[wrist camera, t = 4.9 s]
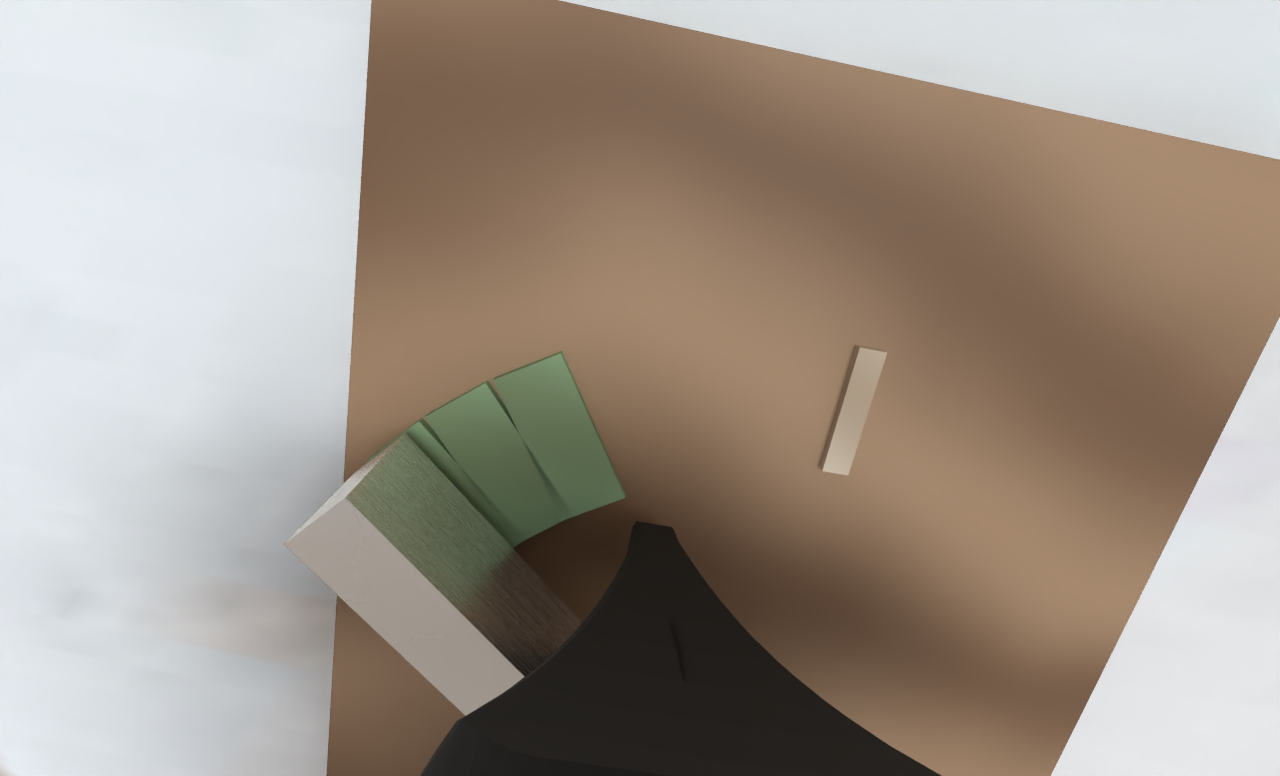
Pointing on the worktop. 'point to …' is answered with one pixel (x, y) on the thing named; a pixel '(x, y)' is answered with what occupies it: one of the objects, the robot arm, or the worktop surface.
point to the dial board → (794, 355)
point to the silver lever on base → (433, 577)
